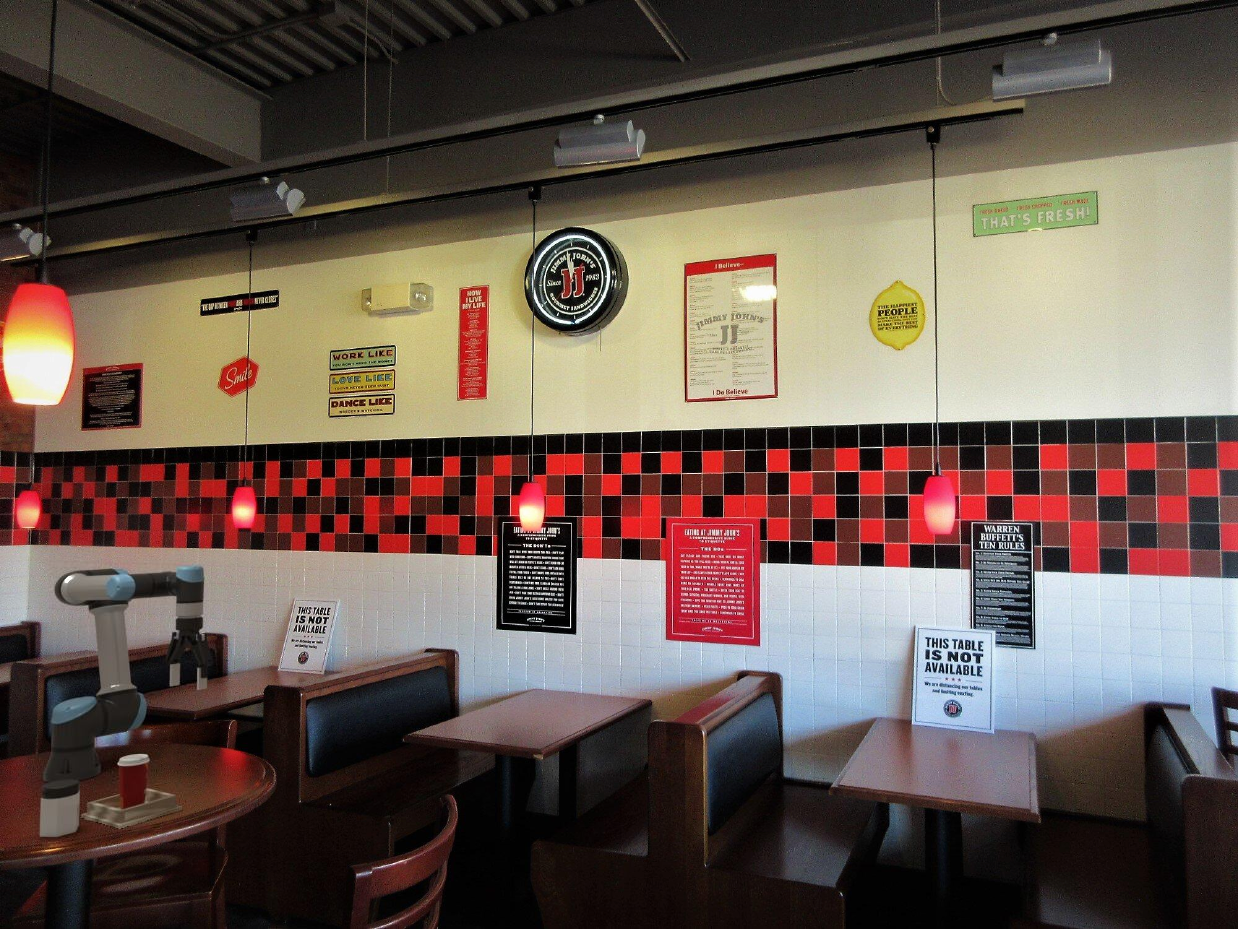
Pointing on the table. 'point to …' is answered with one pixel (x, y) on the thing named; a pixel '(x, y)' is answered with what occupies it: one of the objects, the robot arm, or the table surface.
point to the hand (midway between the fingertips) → (188, 687)
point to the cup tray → (131, 809)
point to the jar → (59, 808)
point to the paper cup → (133, 779)
